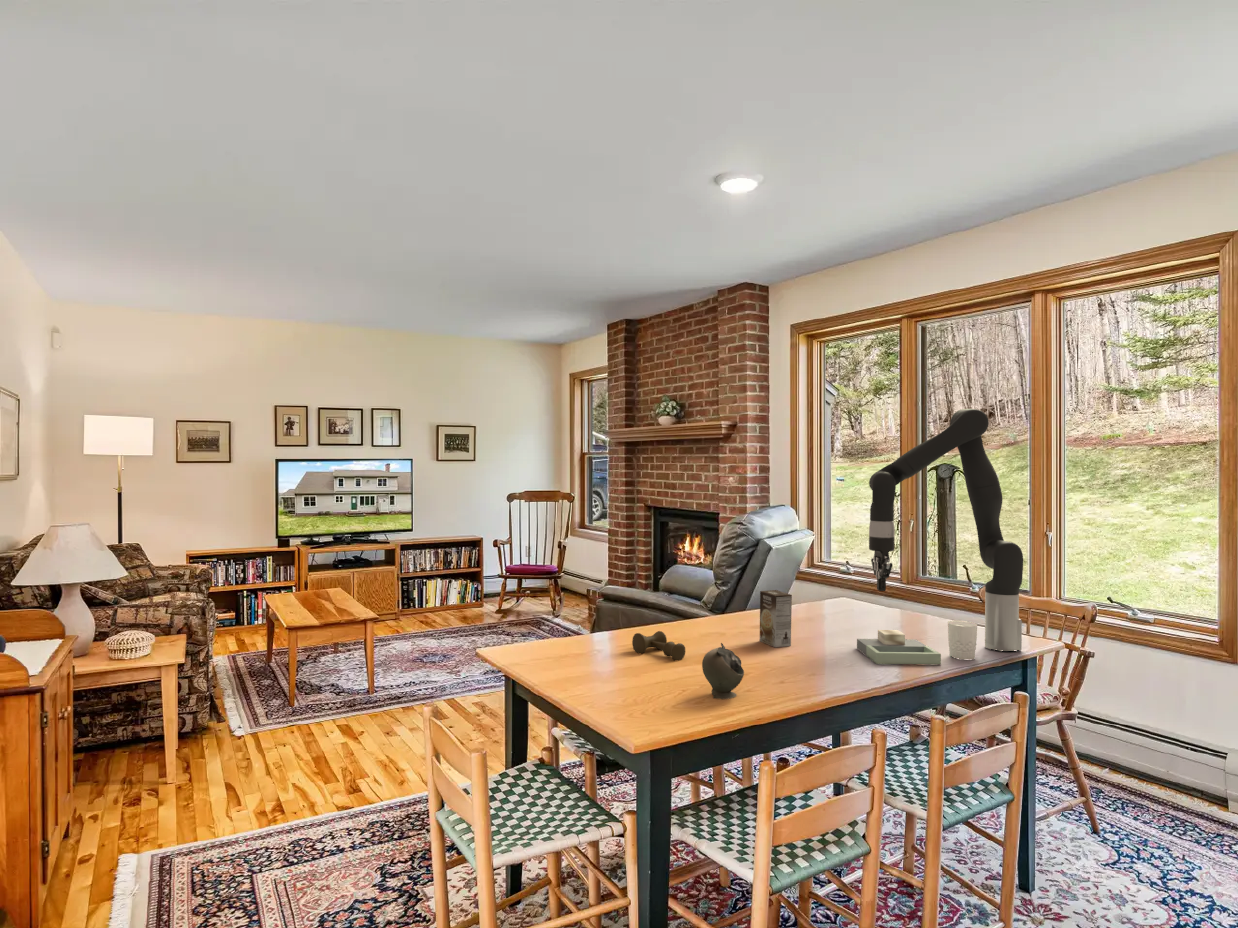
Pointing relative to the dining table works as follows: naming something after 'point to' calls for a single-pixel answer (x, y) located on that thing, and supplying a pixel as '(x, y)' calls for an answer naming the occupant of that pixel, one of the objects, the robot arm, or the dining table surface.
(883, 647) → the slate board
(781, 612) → the coffee box
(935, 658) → the box
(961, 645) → the white cup
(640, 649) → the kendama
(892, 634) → the pale wooden block
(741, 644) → the dining table surface
